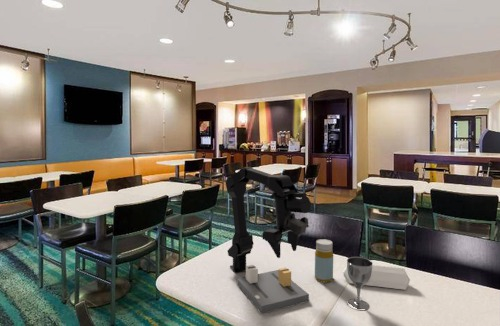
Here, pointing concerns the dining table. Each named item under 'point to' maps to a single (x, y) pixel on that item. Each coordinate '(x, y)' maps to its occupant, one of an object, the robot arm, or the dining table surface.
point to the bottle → (324, 260)
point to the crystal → (385, 277)
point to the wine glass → (359, 278)
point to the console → (272, 292)
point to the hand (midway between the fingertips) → (286, 254)
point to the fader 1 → (251, 274)
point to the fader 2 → (284, 276)
